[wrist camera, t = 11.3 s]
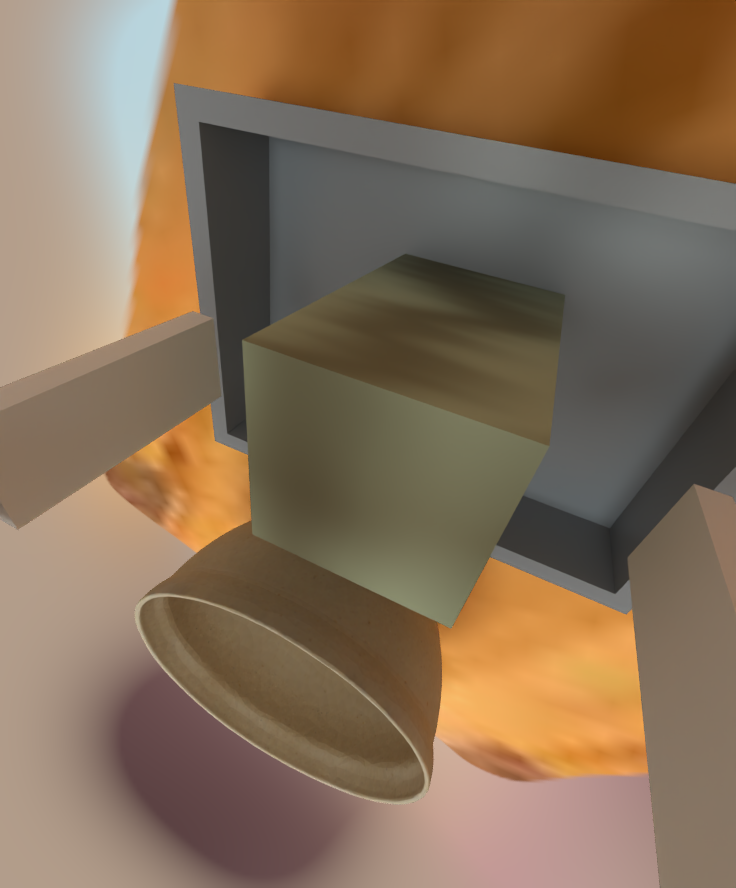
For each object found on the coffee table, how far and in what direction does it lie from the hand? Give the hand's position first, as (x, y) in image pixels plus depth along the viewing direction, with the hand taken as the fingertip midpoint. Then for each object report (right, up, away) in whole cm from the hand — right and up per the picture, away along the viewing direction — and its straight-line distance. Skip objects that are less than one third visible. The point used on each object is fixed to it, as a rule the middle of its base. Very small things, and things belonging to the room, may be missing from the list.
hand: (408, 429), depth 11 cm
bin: (+3, +4, +6) cm, 8 cm away
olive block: (+3, +4, +5) cm, 7 cm away
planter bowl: (-2, -7, +17) cm, 18 cm away
